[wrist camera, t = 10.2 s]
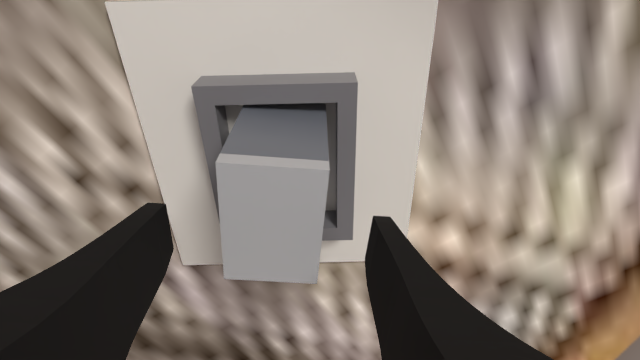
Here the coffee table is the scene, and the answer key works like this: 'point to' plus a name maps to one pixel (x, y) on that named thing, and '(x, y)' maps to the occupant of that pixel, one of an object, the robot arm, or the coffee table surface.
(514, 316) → the coffee table surface
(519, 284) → the coffee table surface
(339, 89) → the plate
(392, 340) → the robot arm
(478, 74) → the coffee table surface
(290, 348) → the coffee table surface
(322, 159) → the block
